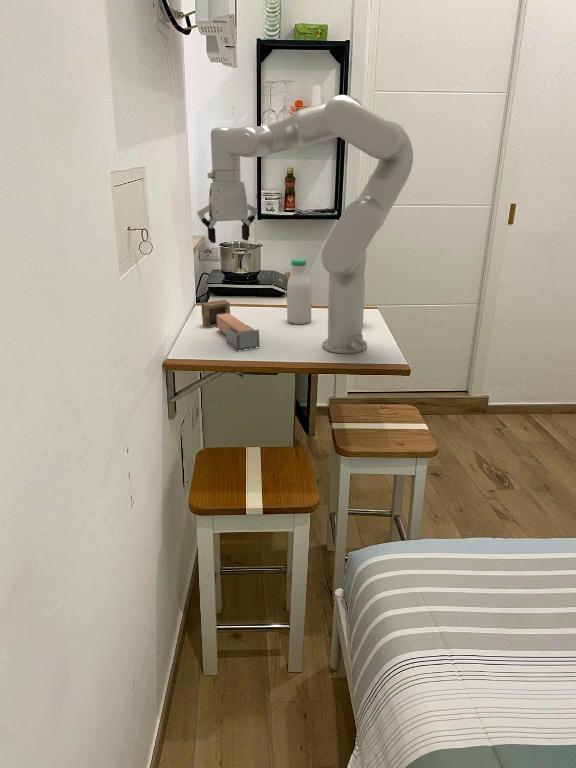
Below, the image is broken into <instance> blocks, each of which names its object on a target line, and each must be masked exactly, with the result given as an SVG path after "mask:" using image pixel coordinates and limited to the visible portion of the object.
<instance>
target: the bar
mask: <svg viewBox="0 0 576 768" xmlns="http://www.w3.org/2000/svg"><path fill="white" fill-rule="evenodd" d="M216 322H217V327H216V328H218V329H219V330H220V331H221V332H222V333H224V334H225V335H226V328H230V329H231V330H233V331H234V332H235V333H239V332H246V331H253V329H254V328H253V329H251V328H252V327H251V326H250V327H251V328H250V327H248V326H249V325H248V324H246V323H244V322H242V321H241V320H239V319H238V318H237V317H236V316H234V315H232V314H231V313H230V314H229V313H223V314H216ZM247 325H248V326H247Z"/></svg>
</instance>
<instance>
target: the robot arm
mask: <svg viewBox="0 0 576 768" xmlns="http://www.w3.org/2000/svg"><path fill="white" fill-rule="evenodd" d="M336 138H340V139H342V140H343V141H345V142H347V143H348V144H350V145H352V146H353V147H355V148H357V149H358V150H360V151H361V152H363V153H364V154H366V155H368V156H369V157H372V158H373V159H377V160H378V162H377V165H376V167H375V168H374V170H373V172H372V173H371V174H370V176H369V179H368V181H367V183H366V185H365V186H364V188H363V189H362V192H360V195H359V196H358V197H357V199H355V200H354V201H352V202H350V203H349V204H348V205H347V206H346V208H345V209H344V211H343V212H342V213H341V216H340V217H339V219H338V220H337V222H336V224H335V226H334V228H333V230H332V232H331V234H330V235H329V237H328V239H327V240H326V241H325V242H326V243H324V246H323V248H322V251H321V255H320V256H321V258H320V259H321V264H322V265H323V268H324V269H325V270H326V272H327V273H329V275H328V276H329V277H328V295H327V296H328V299H327V301H328V304H327V305H328V311H327V313H328V314H327V338H325V339H324V340H323V341H322V343H321V345H322V346H321V347H322V348H323V349H324V350H325V351H327V352H330V353H333V354H334V353H335V354H342V355H343V354H346V355H347V354H356V353H360V352H363V351H365V350H366V349H367V348H368V343H367V341H366V340H364V339H363V337H364V336H363V328H362V316H363V317H364V313H363V293H364V294H365V292H364V278H365V271H366V262H367V261H366V260H367V248H368V246H369V245H370V244H371V242H372V240H373V239H374V236H375V235H376V233H377V232H378V231H379V230H380V229H381V228H382V227H383V225H384V223H385V221H386V218H387V217H388V215H389V213H390V211H391V210H392V208H393V206H394V205H395V203H396V202H397V199H398V197H399V195H400V193H401V192H402V190H403V188H404V186H405V185H406V182H407V181H408V179H409V176H410V174H411V171H412V168H413V163H414V150H413V145H412V142H411V139H410V137H409V135H408V134H407V131H405V129H404V128H403V126H402V125H400V124H399V123H397V122H395V121H392V120H387V119H385V118H384V117H382V116H380V115H379V114H376V113H375V112H373V111H372V110H370V109H369V108H367V107H365V106H363V104H362V102H361V101H360V100H359V99H358V98H356V97H354V96H351V95H346V94H339V95H335V96H333V97H332V98H331V99H329V100H328V101H326V102H323V103H319V104H315V105H312V106H308V107H304V108H301V109H298V110H296V111H294V113H293V114H291V116H288V117H287V118H285V119H282V120H279V121H276V122H272V123H268V124H265V125H260V126H258V125H257V126H256V125H252V126H251V125H250V126H249V125H247V126H246V125H245V126H241V127H227V126H225V127H222V126H221V127H214V128H212V129H211V131H210V147H211V148H210V150H211V151H210V152H211V168H212V169H211V172H207V179H211V181H212V182H210V183H209V184H210V185H209V195H208V205H206V206H205V207H203V208H201V209H200V210H198V211H197V212H196V214H197V216H198V218H199V219H200V222H201V223H202V224H203V225H204V226H205V227H207V239H208V241H209V242H210V243H212V244H216V243H217V241H216V240H217V239H216V228H215V225H216V223H218V222H229V221H230V222H231V221H234V222H235V221H241V223H242V225H241V238H242V240H243V241H249V237H250V227H251V225H252V223H253V222H254V220H256V216H257V214H258V211H259V209H258V208H256V207H254V206H252V205H251V204H250V203H249V204H248V198H247V191H246V186H245V182H244V181H241V157H244V158H257V157H265V156H270V155H272V154H276V153H281V152H284V151H287V150H291V149H295V148H302V147H306V146H310V145H313V144H316V143H320V142H323V141H327V140H331V139H336ZM249 211H250V214H249ZM207 213H208V216H209V219H207V218H206V216H205V215H206V214H207Z"/></svg>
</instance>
